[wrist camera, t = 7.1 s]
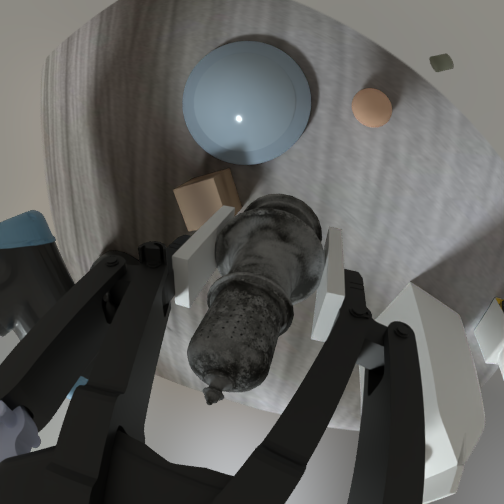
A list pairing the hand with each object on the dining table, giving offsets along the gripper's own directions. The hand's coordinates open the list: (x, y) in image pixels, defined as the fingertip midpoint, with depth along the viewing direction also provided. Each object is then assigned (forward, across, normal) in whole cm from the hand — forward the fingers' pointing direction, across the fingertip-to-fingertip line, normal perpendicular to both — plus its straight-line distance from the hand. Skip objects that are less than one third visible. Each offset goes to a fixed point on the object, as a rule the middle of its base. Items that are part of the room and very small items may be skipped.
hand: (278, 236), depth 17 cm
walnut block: (+15, -10, -3) cm, 18 cm away
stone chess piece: (+1, 0, 0) cm, 1 cm away
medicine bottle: (+15, +36, -12) cm, 41 cm away
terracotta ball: (+13, +6, +9) cm, 17 cm away
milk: (+15, +20, -17) cm, 30 cm away
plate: (+15, -7, +8) cm, 18 cm away
